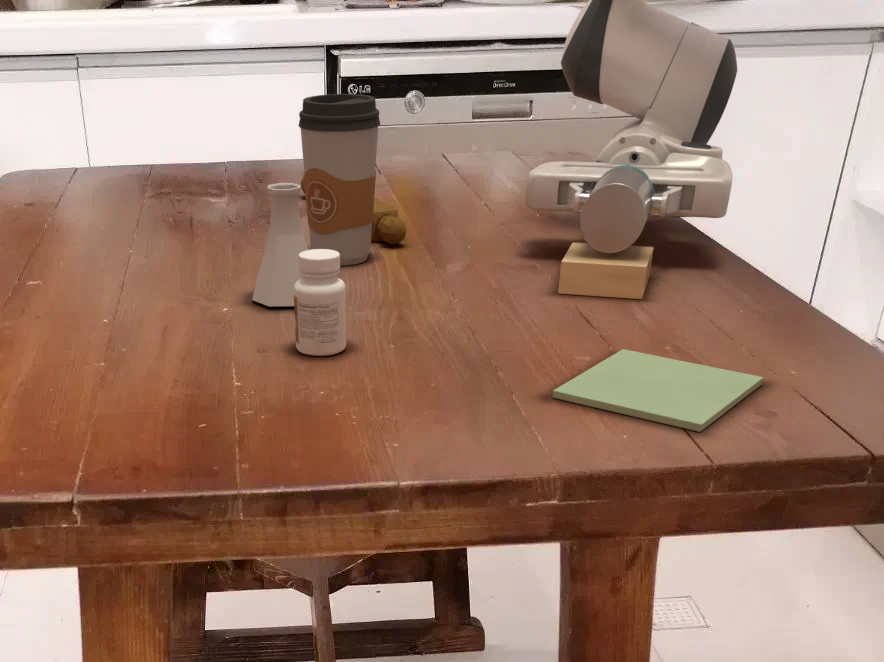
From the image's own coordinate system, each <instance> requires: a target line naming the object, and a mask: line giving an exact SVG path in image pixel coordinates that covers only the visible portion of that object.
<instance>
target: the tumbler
mask: <svg viewBox="0 0 884 662" xmlns="http://www.w3.org/2000/svg"><path fill="white" fill-rule="evenodd" d="M653 193H654V188H653V185H652V182H651V180H650V178H649V177H648V176H647V174H646V173H645V172H644V171H642V170H641V169H639V168H637V167H634V166H629V165H623V166H618V167H615V168H612V169H610V170H609V171H607V172H606V173H605V174H604V175H603V176H602V177H601V178H600V179H599V180H598V182H597V183H596V185H595V187H594V189H593V190H592V192H591V194H590V195H589V197H588V198H587V200H586V202H585V203H584V206H583V208H582V211H581V213H580V215H579V226H580V232H581V234H582V236H583V238H584V240H585V241H586V243H588V244H589V245H590V246H592V247H593V248H595V249H596V250H598V251H601V252H606V253H614V252H619V251H622V250H624V249H626V248H628V247H629V246H633V244H635V242H636V241H637V240H638V239H639V237H640V235H641V234H642V232H643V230H644V228H645V225H646V223H647V221H646V220H647V218H648V216H649V212H650V208H651V198H652V196H653Z"/></svg>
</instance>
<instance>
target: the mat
mask: <svg viewBox="0 0 884 662" xmlns="http://www.w3.org/2000/svg"><path fill="white" fill-rule="evenodd" d="M763 382H764V376H760V375H754V374H749V373H744V372H740V371H734V370H729V369H724V368H719V367H716V366H715V367H714V366H709V365H705V364H699V363H695V362H690V361H685V360H680V359H673V358H670V357H665V356H660V355H656V354H650V353H646V352H640V351H635V350H631V349H625V348H622V349H620V350H619V351H617V352H615V353H614V354H612V355H611V356H608V357H607V358H605V359H604V360H602V361H600V362H598V363H597V364H595V365H593V366H592V367H590V368H589V369H587V370H585V371H583V372H582V373H580V374H579V375H577V376H575V377H574V378H572V379H569V380H568V381H566V382H564V383H562V384H561V385H559V386H558V387H556V388H555V389H553V390H552V396H551V397H552V399H557V400H561V401H564V402H570V403H575V404H578V405H583V406H587V407H590V408H591V407H592V408H595V409H599V410H603V411H608V412H613V413H617V414H621V415H626V416H630V417H634V418H638V419H642V420H647V421H651V422H655V423H659V424H663V425H669V426H672V427H677V428H681V429H685V430H690V431H695V432H697V433H698V432H700V433H701V432H702V431H704V430H705V429H706V428H707V427H709V426H710V425H711V424H713V422H716V421H717V420H718V419H719V418H720V417H722V416H723V415H724V414H725V413H727V412H728V411H729V410H731V409H732V408H733V407H734V406H736V405H738V404H739V403H740V402H741V401H742V400H744V399H745V398H746V397H748V396H749V395H750V394H752V393H753V392H754V391H755V390H756V389H758V388H760V386H762V385H763Z"/></svg>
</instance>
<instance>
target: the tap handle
mask: <svg viewBox="0 0 884 662" xmlns="http://www.w3.org/2000/svg"><path fill="white" fill-rule="evenodd" d="M300 185H301V189H300V190H302V192H303V194H304V195H305V183H304V175H303V176H302V178H301V180H300ZM406 234H407V225H406V222H405V221H404V220H403V219H401V218H400V217H399V211H398V208H397V207H394V206H392V205H390V204H388V203H386V202H385V201H383V200H381V199H379V198H377V197H375V196H374V210H373V222H372V229H371V242H387V243H388V244H389V245H396V244H397V245H398V244H400V243H401V242H402V241H403V240H404V239H405V238H406Z"/></svg>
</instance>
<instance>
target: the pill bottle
mask: <svg viewBox="0 0 884 662" xmlns="http://www.w3.org/2000/svg"><path fill="white" fill-rule="evenodd" d="M340 272H341V265H340V254H339V252H337V251H335V250H330V249H312V250H311V249H309V250H307V251H303V252H301V253H300V254H299V274H301V279H299V280H298V281H297V282H296V283H295V285H294V306H293V307H294V333H295V334H294V335H295V348H296V349H297V351H298V352H300V353H301V354H303V355H306V356H307V355H308V356H314V357H315V356H317V357H323V356H333V355H336V354H339V353H341V352H343V351H344V350H345V349H346V347H347V287H346V283H345V281H343V279H341V278H339V277H338V274H340Z"/></svg>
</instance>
